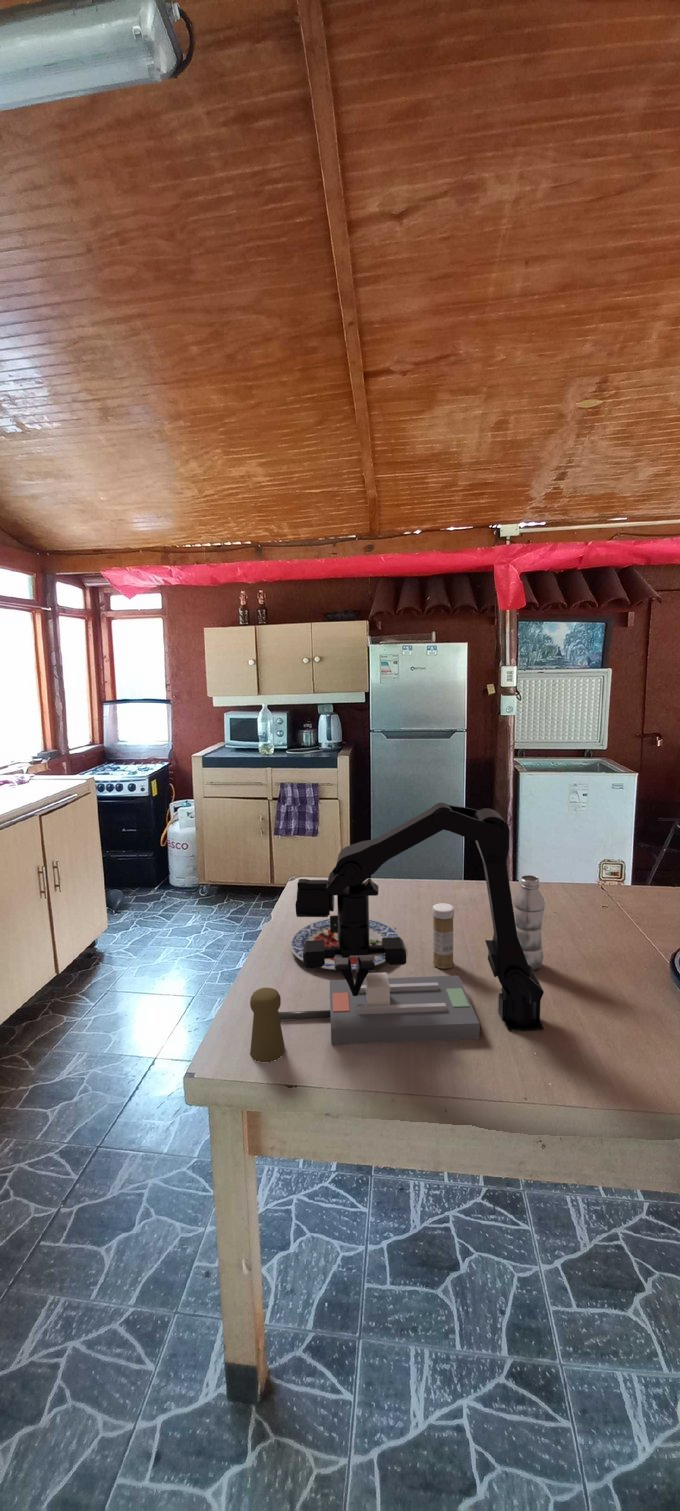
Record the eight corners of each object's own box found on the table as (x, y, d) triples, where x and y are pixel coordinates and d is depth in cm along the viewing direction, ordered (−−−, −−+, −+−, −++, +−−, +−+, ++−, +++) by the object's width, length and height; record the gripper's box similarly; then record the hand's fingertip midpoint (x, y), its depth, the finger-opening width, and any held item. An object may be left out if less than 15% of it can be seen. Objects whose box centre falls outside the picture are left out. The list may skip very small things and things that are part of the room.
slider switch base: (458, 989, 119) (458, 970, 118) (479, 1038, 103) (479, 1018, 103) (280, 995, 118) (279, 977, 117) (273, 1047, 102) (273, 1025, 102)
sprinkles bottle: (451, 959, 131) (451, 902, 129) (455, 969, 127) (456, 910, 125) (430, 959, 131) (430, 902, 129) (434, 970, 127) (434, 911, 125)
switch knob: (386, 991, 113) (386, 972, 112) (389, 1006, 108) (389, 986, 107) (366, 992, 113) (365, 973, 112) (368, 1007, 108) (367, 987, 107)
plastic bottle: (506, 967, 127) (508, 879, 124) (520, 955, 132) (522, 870, 129) (534, 977, 123) (537, 886, 120) (548, 965, 128) (551, 877, 125)
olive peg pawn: (268, 1035, 105) (265, 978, 104) (292, 1049, 102) (290, 990, 100) (242, 1053, 101) (239, 993, 99) (267, 1067, 97) (264, 1006, 95)
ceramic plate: (273, 970, 128) (273, 957, 128) (310, 921, 153) (310, 910, 153) (389, 985, 122) (389, 972, 121) (409, 931, 146) (409, 919, 146)
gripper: (398, 897, 116) (399, 970, 118) (303, 900, 115) (306, 974, 118) (406, 921, 105) (407, 1002, 107) (301, 925, 104) (304, 1006, 107)
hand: (355, 994), depth 110 cm, fingers closed
